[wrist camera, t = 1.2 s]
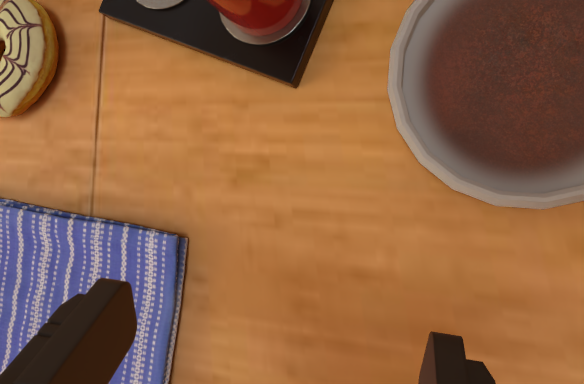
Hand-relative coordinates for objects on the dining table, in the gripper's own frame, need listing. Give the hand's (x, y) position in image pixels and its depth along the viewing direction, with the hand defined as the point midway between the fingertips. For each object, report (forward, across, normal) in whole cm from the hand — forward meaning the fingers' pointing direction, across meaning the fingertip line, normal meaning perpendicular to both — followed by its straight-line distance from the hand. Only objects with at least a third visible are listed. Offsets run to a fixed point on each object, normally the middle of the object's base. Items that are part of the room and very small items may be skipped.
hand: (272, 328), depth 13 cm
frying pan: (+23, -16, -1) cm, 28 cm away
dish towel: (+18, +22, +20) cm, 35 cm away
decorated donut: (+30, +30, +3) cm, 42 cm away
